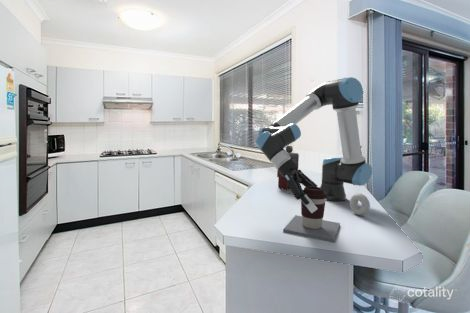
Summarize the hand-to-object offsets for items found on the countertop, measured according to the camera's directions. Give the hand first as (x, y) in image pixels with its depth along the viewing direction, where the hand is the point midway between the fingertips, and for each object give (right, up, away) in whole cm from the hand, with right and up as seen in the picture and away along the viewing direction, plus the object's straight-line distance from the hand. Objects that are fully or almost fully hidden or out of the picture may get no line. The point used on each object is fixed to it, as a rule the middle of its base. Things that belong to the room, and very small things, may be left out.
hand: (319, 206), depth 97 cm
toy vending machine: (+1, -2, +70) cm, 70 cm away
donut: (+24, -8, +19) cm, 32 cm away
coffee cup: (-3, -8, +2) cm, 9 cm away
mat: (-2, -9, +2) cm, 9 cm away
